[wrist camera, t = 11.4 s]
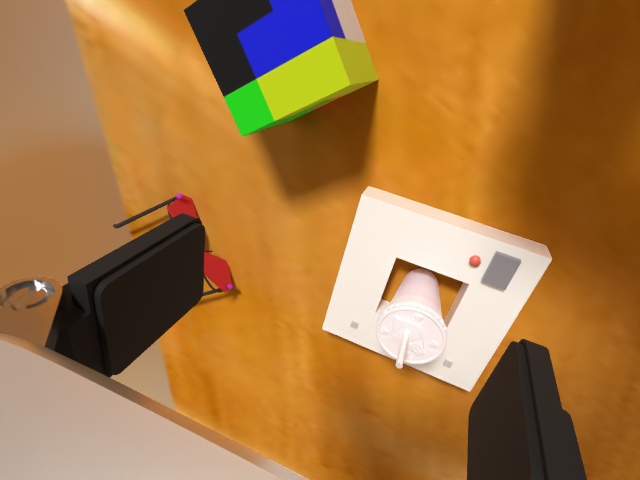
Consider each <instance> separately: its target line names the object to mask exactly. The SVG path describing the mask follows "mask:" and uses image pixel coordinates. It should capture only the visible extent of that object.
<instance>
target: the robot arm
mask: <svg viewBox="0 0 640 480" xmlns="http://www.w3.org/2000/svg"><path fill="white" fill-rule="evenodd" d="M204 247H205V228H204V226H203V225H202V223H201V220H200V219H198V218H195V217H192V216H190V215H187V214H184V213H181V214H179V215H177V216H175V217H173V218H172V219H170V220H168V221H166V222H164V223H163V224H161V225H159V226H157V227H155V228H154V229H152V230H150V231H148V232H146V233H145V234H143V235H141V236H139V237H137V238H136V239H134V240H132V241H130V242H129V243H127V244H125V245H123V246H121V247H120V248H118V249H116V250H114V251H112V252H111V253H109V254H107V255H105V256H103V257H102V258H100V259H98V260H96V261H95V262H93V263H91V264H89V265H87V266H85V267H84V268H82V269H80V270H78V271H77V272H75V273H73V274H71V275H69V276H68V282H69V283H67V284H66V285H64V286H62V285H61V284H60V282H58V281H57V280H55V279H53V278H49V277H38V276H35V277H27V278H22V279H19V280H15V281H12V282H10V283H8V284H6V285H4V286H2V287H1V288H0V480H309V479H307V478H305V477H303V476H301V475H299V474H298V473H296V472H294V471H292V470H290V469H288V468H286V467H284V466H282V465H280V464H278V463H276V462H274V461H272V460H270V459H268V458H266V457H264V456H263V455H261V454H259V453H257V452H255V451H253V450H251V449H249V448H247V447H245V446H243V445H241V444H239V443H237V442H235V441H233V440H231V439H229V438H227V437H225V436H223V435H221V434H219V433H218V432H216V431H214V430H212V429H210V428H208V427H206V426H204V425H202V424H200V423H198V422H196V421H194V420H192V419H190V418H188V417H186V416H184V415H182V414H180V413H178V412H176V411H174V410H172V409H170V408H168V407H166V406H164V405H162V404H160V403H158V402H156V401H154V400H152V399H150V398H149V397H146V396H144V395H143V394H140V393H139V392H137V391H135V390H133V389H131V388H128V387H127V386H125V385H123V384H121V383H119V382H117V381H115V380H113V379H111V378H110V377H111V376H112V375H117V374H119V373H121V372H122V371H123V370H124V369H125V368H127V367H128V366H129V365H130V364H131V363H132V362H133V361H134V360H135V359H136V358H137V357H139V356H140V355H141V354H142V353H143V352H144V351H145V350H146V349H147V348H148V347H150V346H151V345H152V344H153V343H154V342H155V341H156V340H157V339H158V338H160V337H161V336H162V335H163V334H164V333H165V332H166V331H167V330H168V329H169V328H171V327H172V326H173V325H174V324H175V323H176V322H177V321H178V320H179V319H180V318H182V317H183V316H184V315H185V314H186V313H187V312H188V311H189V310H190V309H191V308H193V307H194V306H195V305H196V304H197V303H198V302H199V301H200V299H201V297H202V295H203V285H204ZM467 480H587V478H586V474H585V470H584V466H583V462H582V458H581V454H580V450H579V446H578V442H577V438H576V434H575V430H574V426H573V422H572V419H571V417H570V414H569V413H568V412H567V411H565V410H563V409H562V406H561V402H560V397H559V393H558V389H557V384H556V380H555V376H554V372H553V367H552V363H551V359H550V354H549V351H548V349H547V348H546V347H544V346H541V345H539V344H536V343H533V342H530V341H528V340H525V339H522V340H521V341H519V343H517V342H514V341H512V342H511V343H510V345H509V346H508V348H507V349H506V351H505V353H504V354H503V356H502V357H501V359H500V361H499V362H498V364H497V366H496V367H495V369H494V370H493V372H492V374H491V375H490V377H489V378H488V380H487V382H486V383H485V385H484V387H483V388H482V390H481V391H480V393H479V395H478V396H477V398H476V400H475V401H474V403H473V405H472V407H471V409H470V413H469V425H468V464H467Z"/></svg>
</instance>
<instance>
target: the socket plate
mask: <svg viewBox="0 0 640 480" xmlns="http://www.w3.org/2000/svg"><path fill="white" fill-rule="evenodd" d="M396 257H397V258H400V259H402V260H405V261H408V262H410V263H413V264H416V265H418V266H421V267H424V268H427V269H429V270H432V271H435V272H437V273H440V274H443V275H446V276H448V277H451V278H454V279H456V280H459V281H462V282H463V284H462V286H461V288H460V290H459V292H458V294H457V295H456V297H455V299H454V301H453V303H452V305H451V307H450V309H449V311H448V313H447V315H446V317H445V319H444V323H445V325H446V327H447V332H448V337H447V343H446V347H445V350H444V351H443V353H442V354H441V355H440V356H439V357H438V358H437V359H435V360H434V361H432V362H429V363H425V364H408V363H404V362H403V364H406V365H408V366H410V367H413V368H415V369H417V370H420V371H422V372H424V373H427V374H429V375H432V376H434V377H436V378H439V379H441V380H443V381H446V382H448V383H450V384H453V385H455V386H457V387H460V388H462V389H464V390H467V391H469V392H470V391H471V389H472V388H473V386H474V384H475V383H476V381H477V380H478V378H479V376H480V375H481V373H482V372H483V370H484V368H485V367H486V365H487V363H488V362H489V360H490V359H491V357H492V355H493V354H494V352H495V351H496V349H497V347H498V346H499V344H500V343H501V341H502V339H503V338H504V336H505V335H506V333H507V331H508V330H509V328H510V327H511V325H512V323H513V322H514V320H515V319H516V317H517V315H518V314H519V312H520V310H521V309H522V307H523V306H524V304H525V302H526V301H527V299H528V298H529V296H530V294H531V293H532V291H533V290H534V288H535V286H536V285H537V283H538V282H539V280H540V278H541V277H542V275H543V274H544V272H545V270H546V269H547V267H548V265H549V264H550V262H551V261H552V257H551V255H550V252H549V250H548V248H547V246H546V245H544V244H541V243H538V242H535V241H532V240H529V239H526V238H523V237H520V236H517V235H514V234H511V233H508V232H505V231H502V230H499V229H496V228H493V227H490V226H487V225H484V224H481V223H478V222H475V221H472V220H469V219H466V218H463V217H460V216H457V215H454V214H451V213H448V212H445V211H442V210H440V209H437V208H434V207H431V206H428V205H425V204H422V203H419V202H416V201H413V200H410V199H407V198H404V197H401V196H398V195H395V194H392V193H389V192H386V191H383V190H380V189H377V188H374V187H371V186H368V187H367V189H366V190H365V191H364V192H363V193H362V195H361V199H360V202H359V206H358V209H357V212H356V216H355V219H354V223H353V226H352V229H351V233H350V236H349V239H348V243H347V246H346V250H345V253H344V256H343V260H342V263H341V267H340V270H339V273H338V277H337V280H336V283H335V287H334V290H333V294H332V297H331V300H330V304H329V307H328V311H327V314H326V317H325V321H324V324H323V327H322V329H323V330H326V331H328V332H330V333H333V334H335V335H337V336H340V337H342V338H345V339H347V340H349V341H352V342H354V343H356V344H359V345H361V346H363V347H366V348H368V349H370V350H373V351H375V352H377V353H380V354H382V355H385V356H387V357H389V358H392V359H394V360H396V359H395V358H393V357H391V356H390V355H388V354H387V353H386V352H385V351H384V350H383V349H382V347H381V346H380V344H379V343H378V340H377V338H376V325H377V320H378V317H379V315H380V313H381V312H382V311H383V310H384V309H385V308H386V307H388V306H389V304H390V302H388V301H386V300H383V299H381V297H382V294H383V291H384V289H385V286H386V283H387V281H388V278H389V275H390V273H391V270H392V268H393V265H394V262H395V260H396ZM396 361H397V360H396Z"/></svg>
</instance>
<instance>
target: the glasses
mask: <svg viewBox="0 0 640 480" xmlns="http://www.w3.org/2000/svg"><path fill="white" fill-rule="evenodd" d="M173 201H174V202H173ZM171 202H173V203H172V204H170V203H171ZM167 204H168V206H167V209H168V214H169V216H170V219H172V218H173V217H175V216H177V215H179V214H181V213H184V214H187V215H190V216H192V217H195V218H197V215H196V211H195V207H194V204H193V200H192V199H191V198H189V197H186V196H184V195H182V194H178V195H177V196H176V197H174V198H172V199H169V200H167V201H165V202H163V203H161V204H159V205H157V206H155V207H153V208H150V209H148V210H146V211H144V212H142V213H140V214H138V215H136V216H133V217H131V218H129V219H127V220H125V221H123V222H121V223H119V224H114V225H113V227H114V228H119V227H122V226H124V225H126V224H128V223H130V222H132V221H134V220H136V219H138V218H140V217H142V216H144V215H147V214H149V213H151V212H153V211H155V210H157V209H159V208H161V207H163V206H165V205H167ZM207 252H212V251H206V250H204V274H205V275H206V276H207V277H208V278H209V279H210V280H211V281H212V282H213V283H215V284H216V285H217V286H218V287H219V288H218V289H214V288H213V287H212V286H211V284H210V283H209V281H208V280H207V278H206V277H205V275H204V278H205V280H206V282H207V283H208V285H209V286H210V287H211V288H212V289H213V290H211V291H208V292H204V293H203V295H202V296H205V295H209V294H212V293H216V292H226V291H227V290H228V289H232V288H233V285H232V283H231V275H230V268H229V266H228V264H227V262H226V260H223V259H221V258H219V257H216V256H214V255H211V254H209V253H207Z"/></svg>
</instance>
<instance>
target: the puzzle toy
mask: <svg viewBox="0 0 640 480" xmlns="http://www.w3.org/2000/svg"><path fill="white" fill-rule="evenodd" d="M184 12H185V14H186V16H187V18H188V21H189V23H190V25H191V27H192V29H193V31H194V34H195V36H196V38H197V40H198V42H199V44H200V47H201V49H202V51H203V53H204V55H205V57H206V60H207V62H208V64H209V66H210V68H211V70H212V73H213V75H214V77H215V79H216V81H217V83H218V86H219V88H220V90H221V92H222V94H223V96H224V98H225V101H226V103H227V105H228V107H229V109H230V111H231V114H232V116H233V118H234V120H235V122H236V124H237V127H238V129H239V131H240V133H241V135H242V136H246V135H249V134H252V133H255V132H258V131H261V130H264V129H267V128H270V127H273V126H277V125H280V124H283V123H286V122H289V121H292V120H294V119H296V118H298V117H300V116H302V115H304V114H306V113H309V112H311V111H313V110H315V109H317V108H319V107H321V106H324V105H326V104H328V103H330V102H332V101H334V100H336V99H339V98H341V97H343V96H345V95H347V94H349V93H351V92H353V91H356V90H358V89H360V88H362V87H364V86H366V85H368V84H371V83H373V82H375V81H377V80H378V77H377V74H376V71H375V68H374V65H373V62H372V59H371V57H370V54H369V51H368V48H367V45H366V42H365V39H364V36H363V34H362V31H361V28H360V25H359V22H358V19H357V16H356V13H355V11H354V8H353V5H352V2H351V0H197V1H196V2H194V3H193V4H192V5H190V6H189V7H188V8H186V9H185V10H184Z"/></svg>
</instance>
